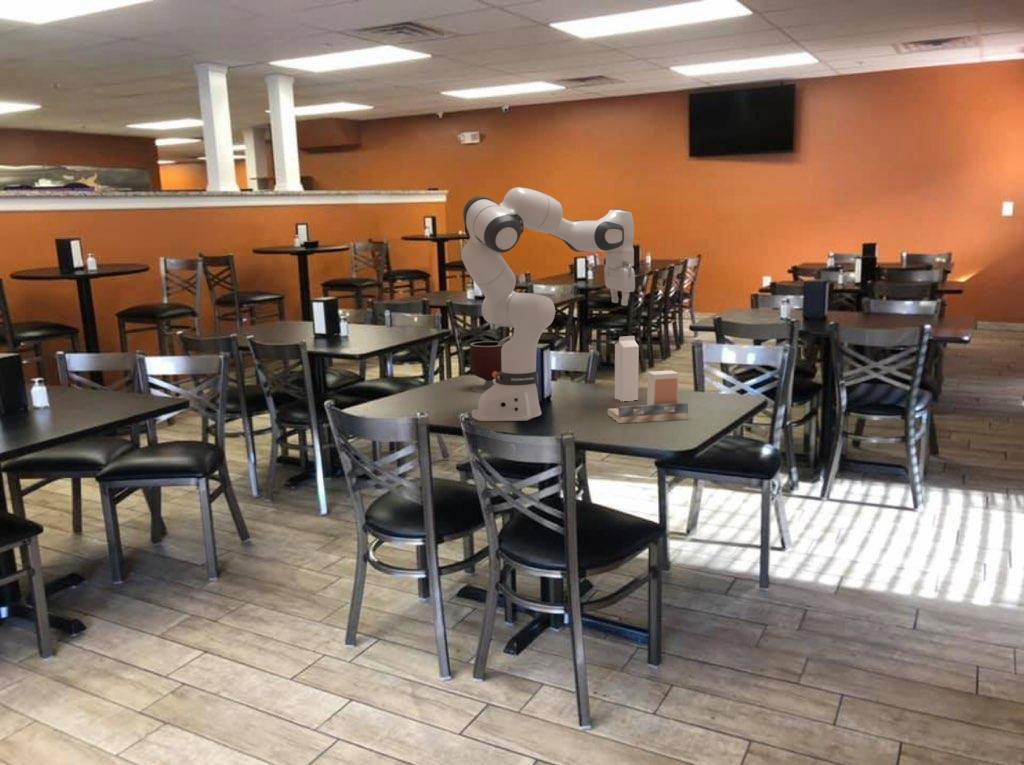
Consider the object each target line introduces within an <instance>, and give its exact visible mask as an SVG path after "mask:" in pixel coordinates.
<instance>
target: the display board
mask: <svg viewBox="0 0 1024 765" xmlns="http://www.w3.org/2000/svg"><path fill="white" fill-rule="evenodd" d="M688 408H689V404H688V402H680V403H679V402H678V403H674V404H658V405H647V404H644V405H643V404H642V405H627V406H626V405H625V406H618V407H615V408H607V416H609V418H611V417H612V418H611V419H613V421H615V420H616V421H615V422H617V423H618V424H619V423H621V424H632V423H633V424H634V423H635V422H636V423H648V422H651V423H653V422H662V421H663V422H665V421H679V420H680V421H681V420H688V418H689V417H688V410H689V409H688ZM636 423H635V424H636Z"/></svg>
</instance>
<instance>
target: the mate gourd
mask: <svg viewBox="0 0 1024 765" xmlns="http://www.w3.org/2000/svg"><path fill="white" fill-rule="evenodd" d="M512 337H513V336H512V335H509V336H506V337H504V338H502V339H501V340H499V341H496V340H494V341H493V340H492V341H491V340H489V341H488V340H487V341H486V340H485V341H475V342H472V343H470V349H469V365H470V369H471V372H472V373H473V374H474V375H475V377H478V378H480V379H483V380H484V384H482V385H476V386H474V387H472V391H473V392H475V393H482V394H483V393H484V392H485V391H487V390H488V389H489V388H490V387H492V386H493V385H494V384H495V383H494V380H495V378H494V377H493V376H492V373H494V371H497V372H498V373H499V372H500V371H502V366H501V349H502V346H503V345H504V344H505V343H506V342H507V341H508V340H510V339H512Z"/></svg>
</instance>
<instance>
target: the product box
mask: <svg viewBox="0 0 1024 765" xmlns="http://www.w3.org/2000/svg"><path fill="white" fill-rule="evenodd" d="M646 396H647V398H646V400H647V402H646V405H658V404H674V403H679V373H678V372H677V371H674V370H657V371H656V370H655V371H647V395H646Z"/></svg>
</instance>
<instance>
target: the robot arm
mask: <svg viewBox="0 0 1024 765" xmlns="http://www.w3.org/2000/svg"><path fill="white" fill-rule="evenodd" d="M503 197H504V198H503V201H502V202H501V203H499V204H497V203H496V202H494V201H493V200H492V199H490V198H488V197H486V196H476V197H475V196H474V197H473V198H471V199H469V200H468V201H467V202H466V204H465V205H464V207H463V210H462V216H463V218H462V219H463V222H464V232H465V235H466V236H468V237H469V241H467V243H466V244H465V245H464V246H463V248H462V249H461V253H460V254H461V259H462V263H463V265H464V268H465V269H466V271H467V273H468V275H469V276H470V278H471V279H472V280H473V282H474V284H476V286H477V287H478V289H479V290H480V291H481V293H482V294H483V296H484V299H483V301H482V304H481V315H482V317H483V319H484V320H485V321H486V322H487V323H489V324H491V325H494V326H497V327H505V328H514V329H513V334H512V336H511V337H512V338H510V339H508V340H506V341H505V342H504V343H505V344H504V345H503V346H502V349H501V366H502V371H500V372H499V373H498V372H497V371H494V373H492V376H493V377H494V378H495V379H494V380H495V381H494V382H495V383H494V385H493V386H492V387H490V388H489V389H488V390H487V391H485V392H484V393H482V394H480V397H479V400H478V404H477V405H478V406H477V408H475V409H473V410H472V411H471V418H473V419H474V420H476V421H479V422H507V421H508V422H512V421H514V422H515V421H516V422H517V421H529V420H532V419H534V418H536V417H540V416H541V415H542V414H543V413H542V409H541V406H540V400H539V395H538V385H539V374H538V370H537V352H538V350H537V349H538V344H539V340H540V338H541V335H542V334H543V332H544V331H545V330H546V329H547V328H549V326H551V324H552V323H553V321H554V319H555V315H556V307H555V304H554V301H553V300H552V299H551V298H550V297H548V296H545V295H542V294H538V293H527V292H517V291H515V288H516V284H517V283H516V282H517V278H516V275H515V273H514V272H513V270H512V269H511V267H510V266H509V265H508V263H507V262H506V261H505V259H504V257H503V256H502V255H501V254H500V253H503V254H504V253H508V252H509V251H511V250H512V249H513V248H515V246H516V245H517V244H518V242H519V240H520V239H521V236H522V234H523V232H524V229H525V228H526V229H529V230H531V231H534V232H538V233H542V234H548V235H550V236H552V237H554V238H557V239H559V240H561V241H562V242H564V244H566V245H567V247H568V248H569V249H570V250H572V251H574V252H575V253H581V252H582V253H583V252H600V253H601V252H605V257H604V258H603V259H602V266H604V270H603V271H604V274H603V275H604V284H605V287H606V288H607V289H610V290H609V291H610V294H611V302H612V303H614V304H618V303H619V296H618V292H619V291H620V292H621V299H620V305H621V306H625V307H627V306H628V305H629V297H630V293H631V292H632V293H633V292H635V290H636V277H635V276H636V275H635V270H634V268H633V267H635V249H634V244H633V243H634V238H635V223H634V222H635V221H634V217H633V214H632V212H630V211H629V210H625V209H621V208H613V209H610V210H608V213H607V214H605V215H603V217H601V218H599V219H598V220H581V219H578V220H577V219H576V220H572V221H571V220H568V219H566V218H564V210H563V207H562V204H561V202H560V201H558V200H557V199H555V198H554V197H552V196H551V195H549V194H546V193H543V192H541V191H538V190H535V189H531V188H526V187H519V186H517V187H513V188H511V189H510V190H508V191H507V192H506V194H505V195H504V196H503Z"/></svg>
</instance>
